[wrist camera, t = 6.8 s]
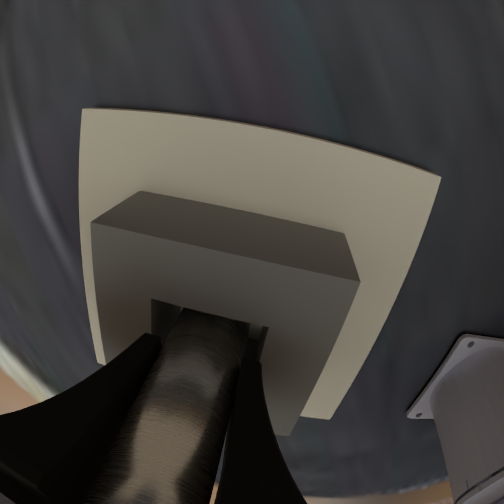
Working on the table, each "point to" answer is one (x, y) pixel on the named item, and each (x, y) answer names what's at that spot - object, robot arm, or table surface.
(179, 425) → the steel pin
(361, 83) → the table surface
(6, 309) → the table surface
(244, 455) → the robot arm
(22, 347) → the table surface
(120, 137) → the socket block on plate
